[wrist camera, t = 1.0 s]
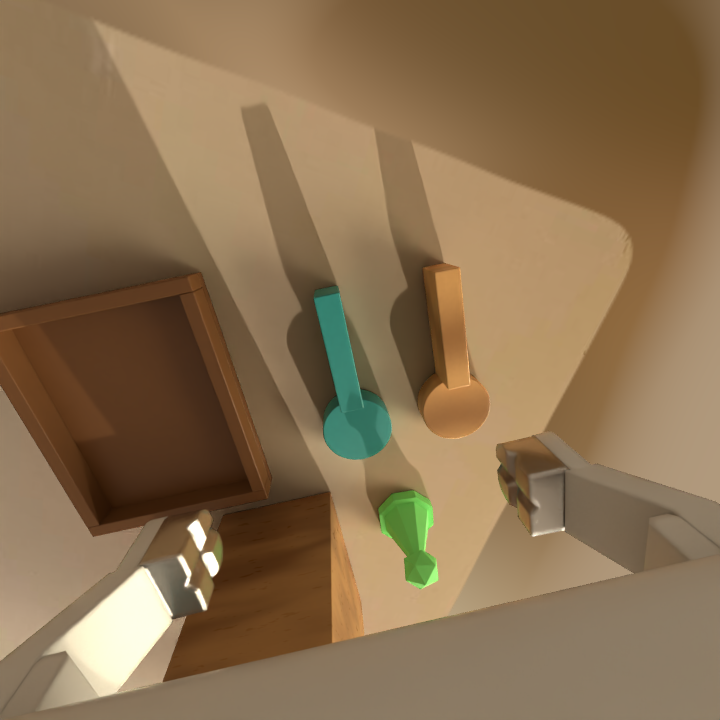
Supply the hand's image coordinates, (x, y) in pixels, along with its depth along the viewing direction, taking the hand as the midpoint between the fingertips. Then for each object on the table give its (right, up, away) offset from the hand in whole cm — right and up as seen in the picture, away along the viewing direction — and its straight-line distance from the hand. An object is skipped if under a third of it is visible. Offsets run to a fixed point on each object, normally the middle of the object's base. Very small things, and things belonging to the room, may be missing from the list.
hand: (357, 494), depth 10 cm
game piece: (+3, -8, +18) cm, 20 cm away
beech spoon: (+5, +4, +13) cm, 15 cm away
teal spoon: (-1, +3, +13) cm, 13 cm away
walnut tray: (-13, +1, +13) cm, 18 cm away
